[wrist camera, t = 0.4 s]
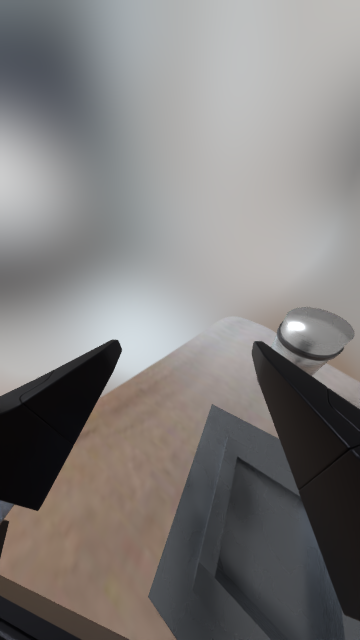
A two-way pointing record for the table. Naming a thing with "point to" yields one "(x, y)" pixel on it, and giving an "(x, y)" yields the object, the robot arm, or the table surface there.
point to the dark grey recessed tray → (244, 547)
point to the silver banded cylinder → (311, 337)
